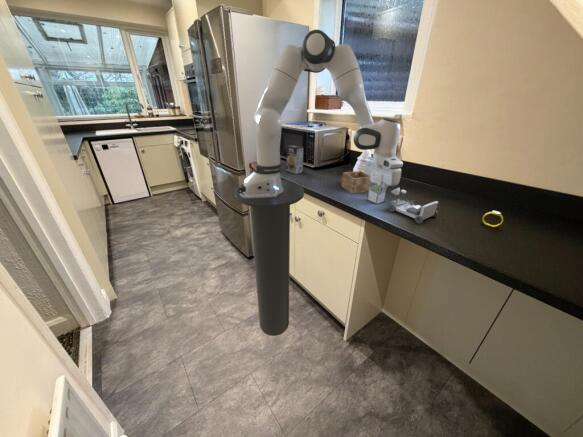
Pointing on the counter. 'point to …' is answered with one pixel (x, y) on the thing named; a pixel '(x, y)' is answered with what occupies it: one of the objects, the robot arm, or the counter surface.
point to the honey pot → (362, 161)
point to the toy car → (412, 207)
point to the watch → (494, 214)
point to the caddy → (356, 181)
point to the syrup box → (376, 188)
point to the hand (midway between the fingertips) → (377, 188)
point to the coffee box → (294, 159)
